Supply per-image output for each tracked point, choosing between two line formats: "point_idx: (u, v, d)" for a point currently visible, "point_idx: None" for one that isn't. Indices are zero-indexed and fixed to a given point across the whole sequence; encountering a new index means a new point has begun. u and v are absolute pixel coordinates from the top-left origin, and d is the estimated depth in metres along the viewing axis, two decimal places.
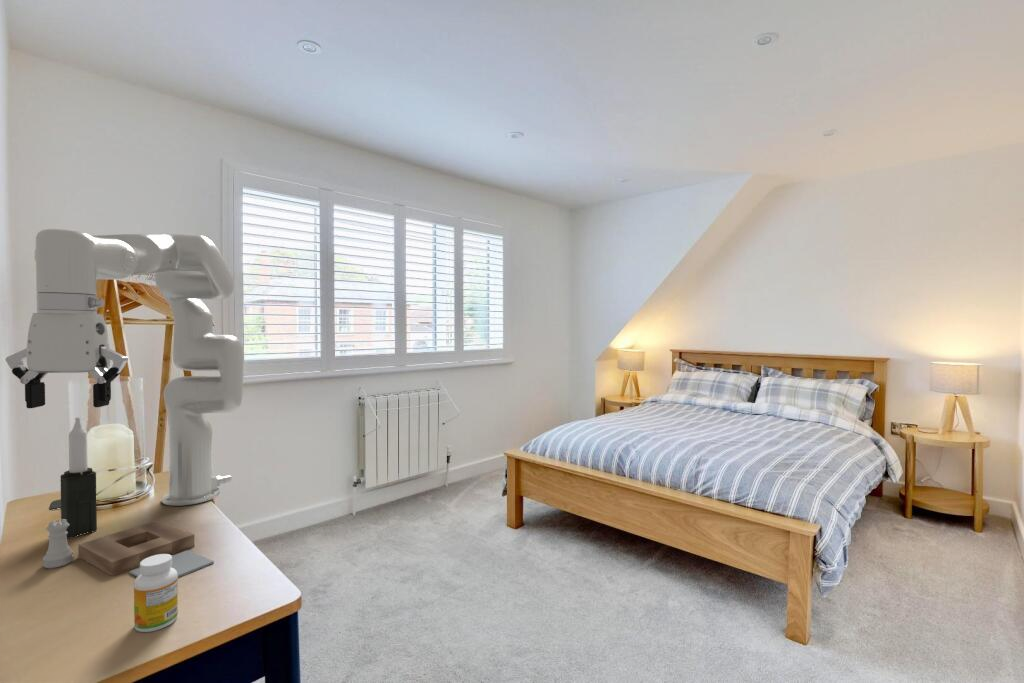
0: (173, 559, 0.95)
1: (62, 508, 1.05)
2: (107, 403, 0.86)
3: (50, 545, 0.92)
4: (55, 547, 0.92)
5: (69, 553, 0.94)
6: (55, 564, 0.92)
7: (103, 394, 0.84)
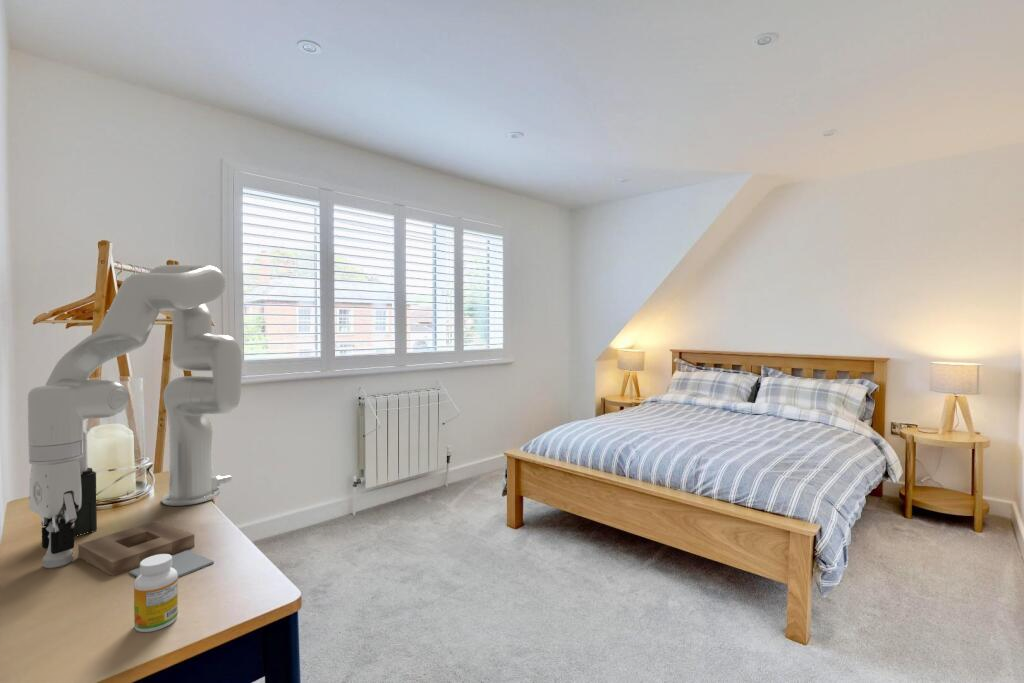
0: (173, 559, 0.95)
1: None
2: None
3: (50, 545, 0.92)
4: None
5: (69, 553, 0.94)
6: (55, 564, 0.92)
7: None
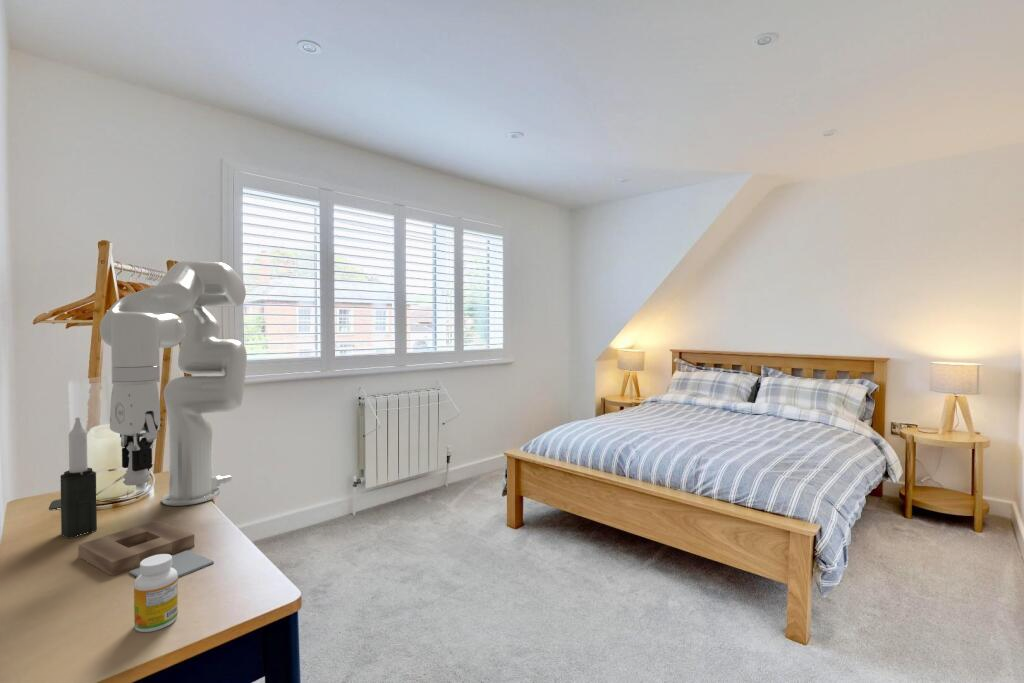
0: (173, 559, 0.95)
1: (62, 508, 1.05)
2: None
3: (130, 464, 0.97)
4: None
5: (147, 472, 0.98)
6: (135, 482, 0.96)
7: None
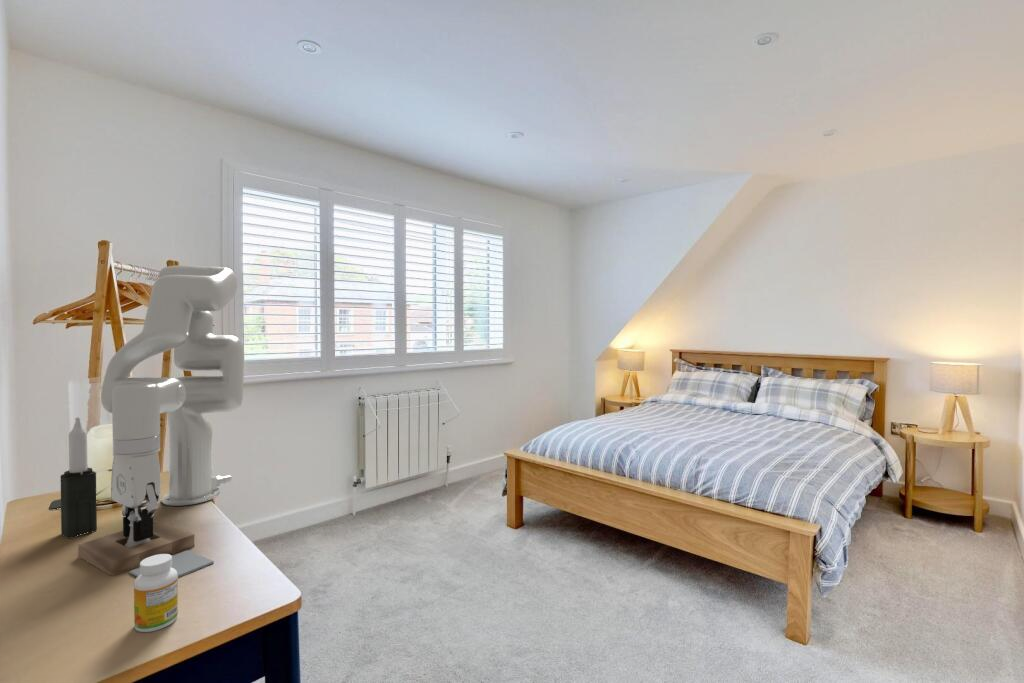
0: (173, 559, 0.95)
1: (62, 508, 1.05)
2: None
3: (131, 533, 0.97)
4: None
5: None
6: None
7: None
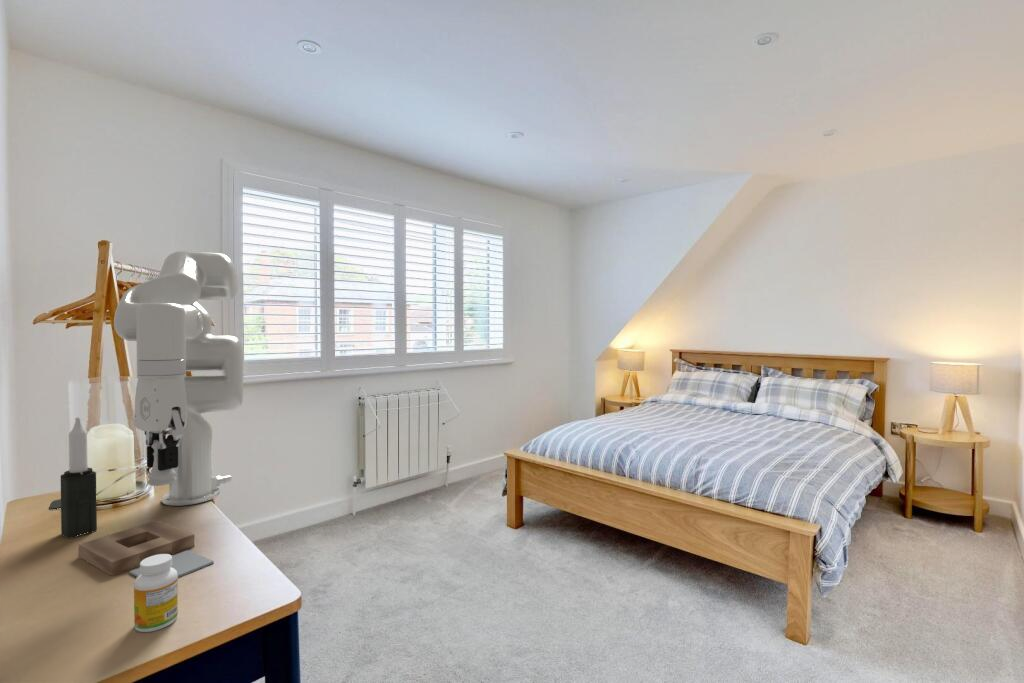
0: (173, 559, 0.95)
1: (62, 508, 1.05)
2: None
3: (155, 463, 0.92)
4: None
5: (172, 472, 0.93)
6: (160, 482, 0.91)
7: None
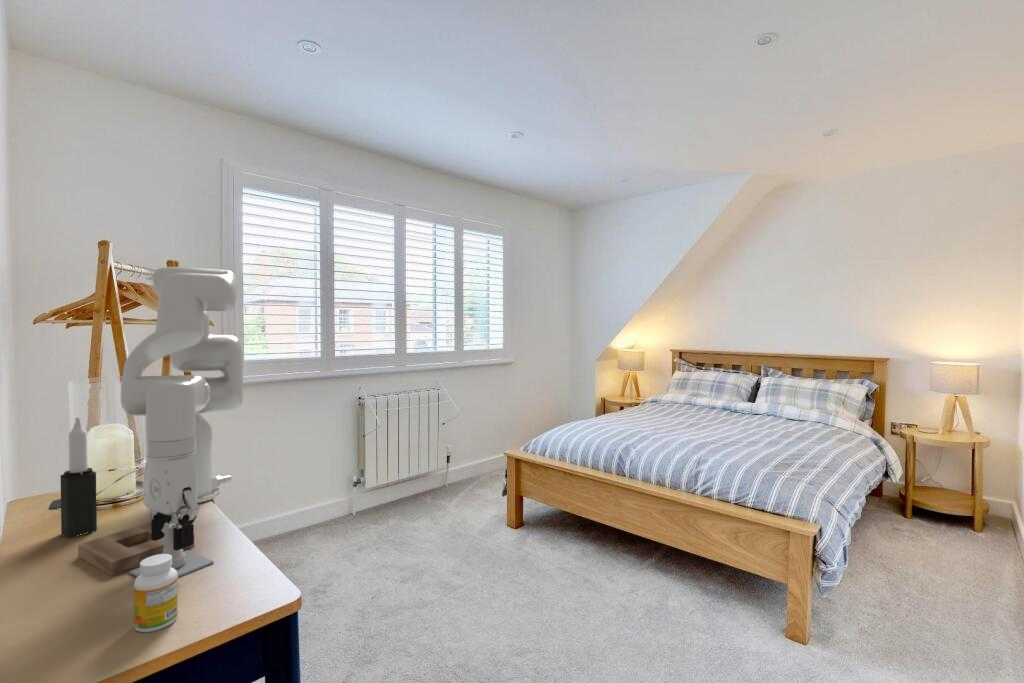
0: None
1: (62, 508, 1.05)
2: None
3: (165, 547, 0.91)
4: (170, 549, 0.91)
5: (183, 555, 0.92)
6: (171, 567, 0.90)
7: None
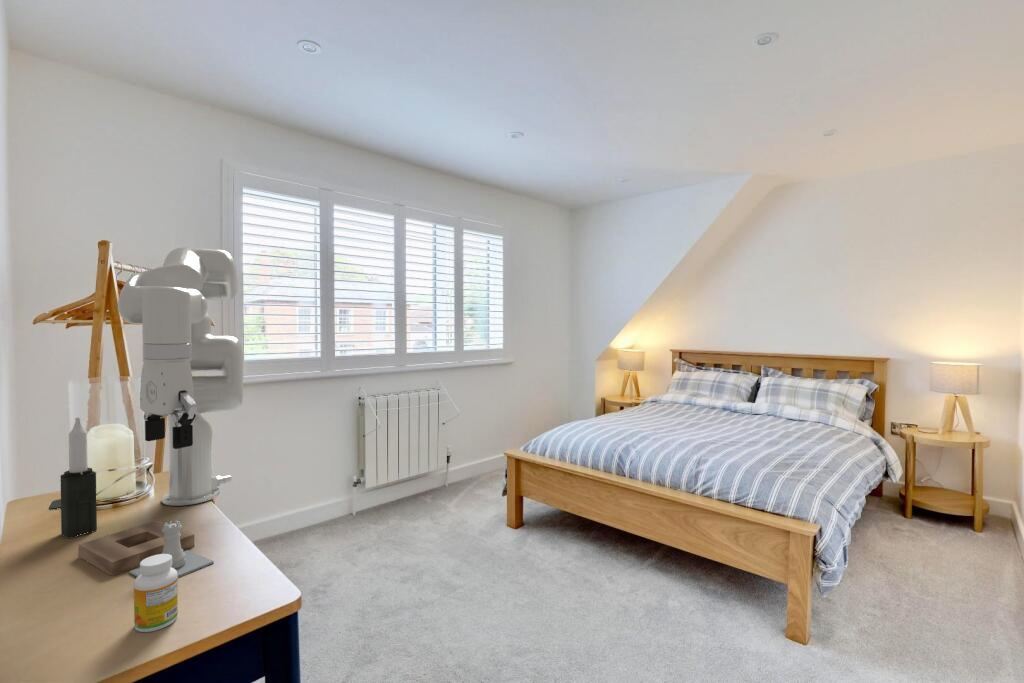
0: None
1: (62, 508, 1.05)
2: None
3: (165, 547, 0.91)
4: (170, 549, 0.91)
5: (183, 555, 0.92)
6: (171, 567, 0.90)
7: None
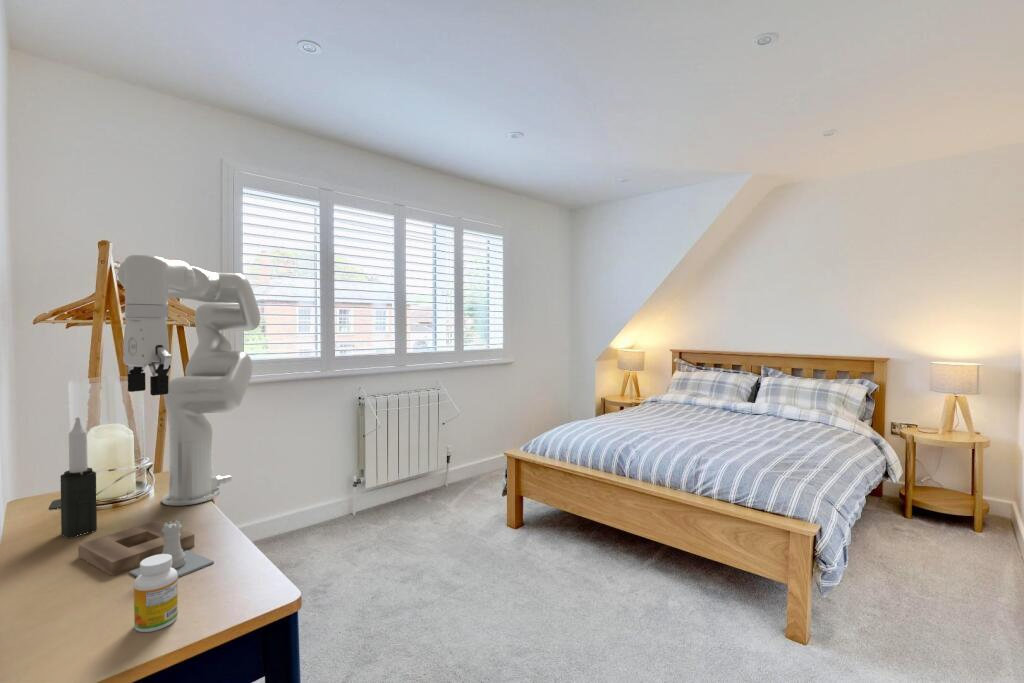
0: None
1: (62, 508, 1.05)
2: None
3: (165, 547, 0.91)
4: (170, 549, 0.91)
5: (183, 555, 0.92)
6: (171, 567, 0.90)
7: None
